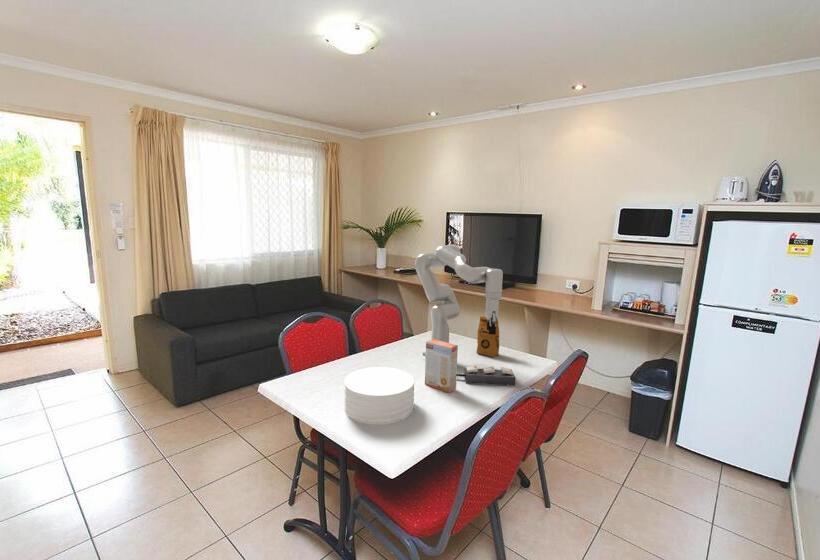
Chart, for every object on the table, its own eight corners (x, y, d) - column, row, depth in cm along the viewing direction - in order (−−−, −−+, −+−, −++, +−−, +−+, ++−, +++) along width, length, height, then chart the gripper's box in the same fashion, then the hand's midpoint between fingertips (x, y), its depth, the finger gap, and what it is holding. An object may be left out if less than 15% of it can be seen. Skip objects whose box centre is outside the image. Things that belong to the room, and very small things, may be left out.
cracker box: (456, 389, 174) (458, 344, 171) (448, 393, 170) (450, 348, 167) (432, 380, 183) (433, 338, 180) (424, 384, 179) (425, 340, 176)
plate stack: (391, 387, 176) (392, 362, 174) (427, 413, 152) (428, 385, 151) (333, 400, 161) (333, 374, 159) (362, 432, 137) (363, 402, 136)
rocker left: (467, 372, 183) (467, 370, 183) (466, 369, 187) (466, 366, 187) (477, 371, 183) (477, 368, 182) (477, 367, 187) (476, 365, 186)
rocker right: (502, 372, 182) (503, 369, 182) (500, 369, 186) (501, 366, 186) (512, 374, 182) (513, 372, 182) (511, 371, 186) (511, 369, 186)
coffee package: (493, 359, 215) (496, 320, 211) (474, 354, 222) (476, 317, 219) (501, 354, 222) (503, 317, 219) (482, 349, 230) (484, 314, 227)
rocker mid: (484, 373, 183) (484, 370, 182) (483, 370, 187) (482, 367, 186) (495, 371, 182) (494, 369, 182) (493, 368, 186) (493, 366, 186)
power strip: (452, 382, 182) (453, 372, 181) (451, 375, 191) (452, 365, 190) (515, 385, 180) (515, 375, 179) (511, 378, 189) (512, 368, 188)
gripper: (482, 291, 190) (481, 327, 192) (487, 298, 173) (485, 337, 175) (498, 292, 189) (496, 327, 192) (504, 299, 172) (502, 338, 175)
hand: (491, 331), depth 184 cm, fingers open, 5 cm apart
